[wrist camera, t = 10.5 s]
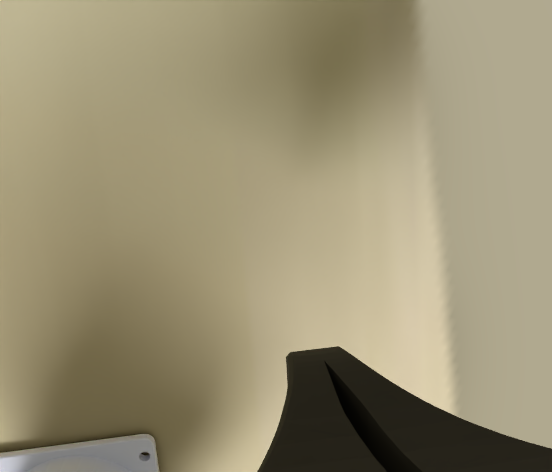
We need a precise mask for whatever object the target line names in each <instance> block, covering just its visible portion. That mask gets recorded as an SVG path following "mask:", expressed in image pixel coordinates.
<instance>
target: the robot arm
mask: <svg viewBox="0 0 552 472" xmlns="http://www.w3.org/2000/svg"><path fill="white" fill-rule="evenodd" d="M286 364H287V381H288V389H287V396H286V400H285V404H284V408H283V412H282V415H281V419H280V422H279V425H278V428H277V431H276V433H275V436H274V438H273V441H272V443H271V446H270V448H269V450H268V452H267V454H266V456H265V458H264V460H263V462H262V464H261V466H260V468H259V470H258V471H257V472H552V449H551V448H546V447H543V446H540V445H536V444H532V443H528V442H525V441H522V440H518V439H515V438H512V437H509V436H506V435H503V434H500V433H498V432H495V431H492V430H489V429H487V428H484V427H481V426H478V425H476V424H473V423H471V422H468V421H466V420H463V419H461V418H459V417H457V416H454V415H452V414H450V413H448V412H446V411H444V410H441V409H439V408H437V407H435V406H433V405H431V404H429V403H427V402H425V401H423V400H421V399H420V398H418V397H416V396H414V395H413V394H411V393H409V392H407V391H406V390H404V389H402V388H400V387H399V386H397V385H396V384H394V383H392V382H391V381H389V380H388V379H386V378H384V377H383V376H381V375H380V374H378V373H377V372H375V371H374V370H372V369H371V368H370V367H368V366H367V365H365V364H364V363H362V362H361V361H360V360H358V359H357V358H355V357H354V356H352V355H351V354H350V353H348V352H347V351H345V350H344V349H342V348H341V347H330V348H322V349H313V350H305V351H297V352H290V353H289V354H288V356H287V357H286ZM142 452H148V453H149V455H147V456H145V455H142V454H141V453H142ZM0 472H159V465H158V459H157V452H156V445H155V440H154V438H153V437H152V436H151V435H149V434H138V435H131V436H123V437H116V438H108V439H101V440H93V441H86V442H79V443H71V444H64V445H56V446H49V447H41V448H34V449H26V450H19V451H11V452H4V453H0Z"/></svg>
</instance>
